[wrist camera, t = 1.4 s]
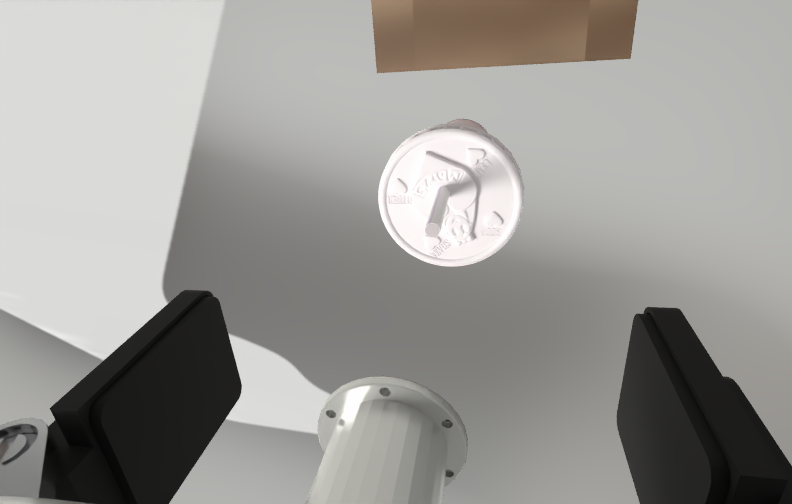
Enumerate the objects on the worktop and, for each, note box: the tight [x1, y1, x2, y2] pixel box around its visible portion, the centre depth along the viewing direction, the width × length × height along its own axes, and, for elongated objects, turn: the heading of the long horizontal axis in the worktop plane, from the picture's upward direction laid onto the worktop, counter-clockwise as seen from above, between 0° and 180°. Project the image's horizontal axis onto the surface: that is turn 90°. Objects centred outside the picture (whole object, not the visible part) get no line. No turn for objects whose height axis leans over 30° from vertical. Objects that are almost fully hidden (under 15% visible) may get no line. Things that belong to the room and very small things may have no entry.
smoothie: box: [378, 119, 524, 266], centre depth 23 cm, size 6×6×14 cm
